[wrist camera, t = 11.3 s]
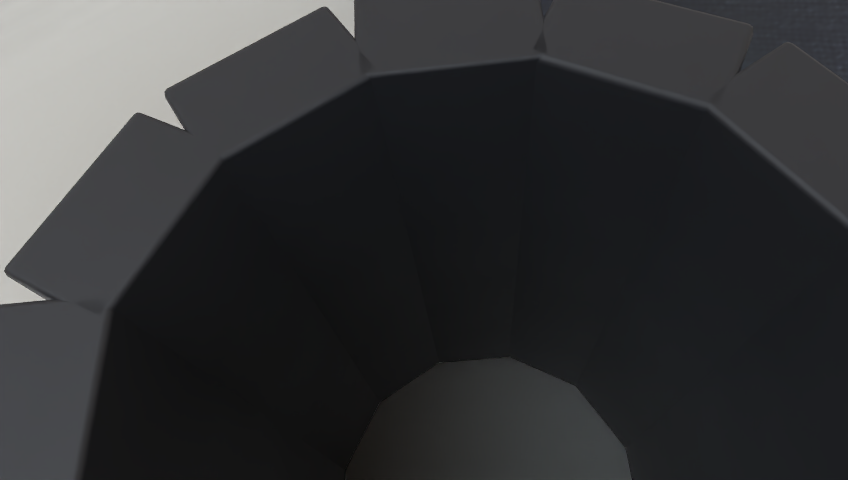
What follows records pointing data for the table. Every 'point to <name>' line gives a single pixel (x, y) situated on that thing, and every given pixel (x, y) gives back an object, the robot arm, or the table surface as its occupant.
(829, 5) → the wallet
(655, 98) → the ribbed pencil cup
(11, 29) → the table surface
